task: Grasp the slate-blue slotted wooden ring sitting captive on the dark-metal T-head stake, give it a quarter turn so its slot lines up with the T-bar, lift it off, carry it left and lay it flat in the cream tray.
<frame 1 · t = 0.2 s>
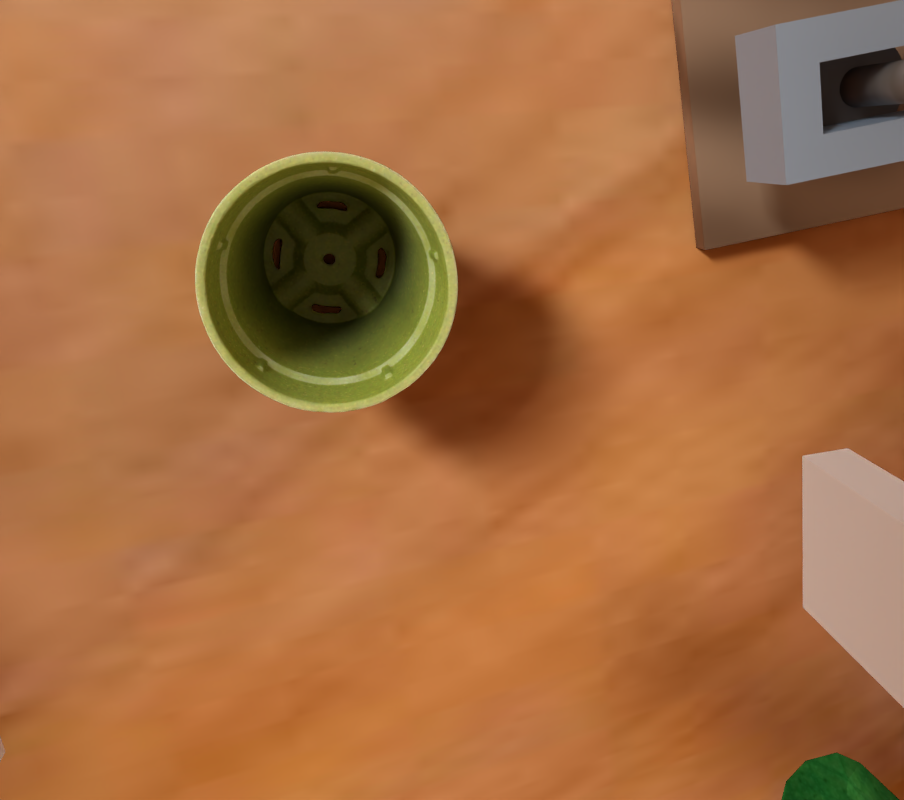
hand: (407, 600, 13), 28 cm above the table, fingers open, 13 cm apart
stake: (808, 92, 40), on the table
plant pot: (332, 257, 39), on the table
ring: (857, 86, 36), point 4 cm above the table, touching stake
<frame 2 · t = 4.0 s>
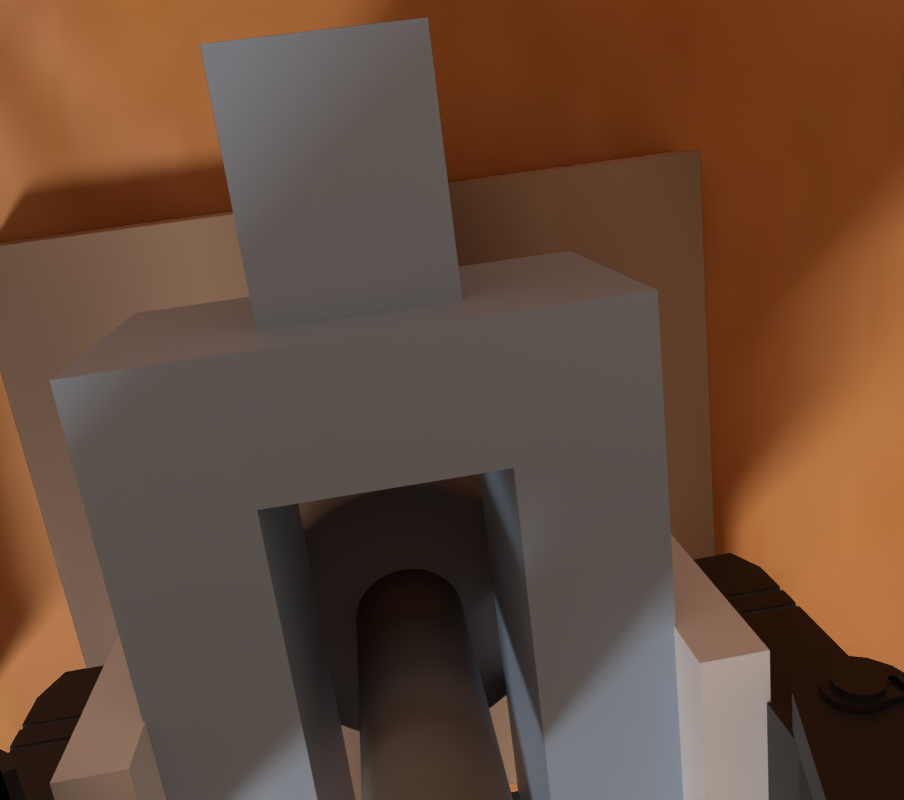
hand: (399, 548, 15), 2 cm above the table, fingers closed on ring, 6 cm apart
stake: (394, 510, 17), on the table
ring: (409, 617, 13), point 4 cm above the table, touching gripper, stake
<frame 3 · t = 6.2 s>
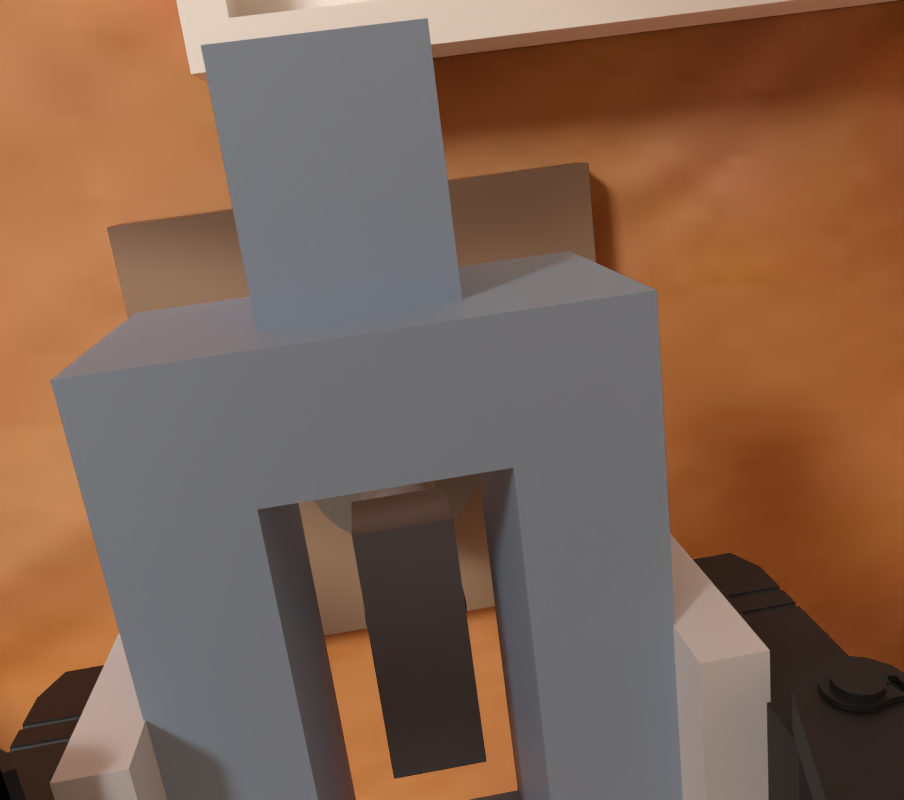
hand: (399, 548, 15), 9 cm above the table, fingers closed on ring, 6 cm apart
stake: (386, 412, 24), on the table
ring: (409, 616, 13), point 11 cm above the table, touching gripper
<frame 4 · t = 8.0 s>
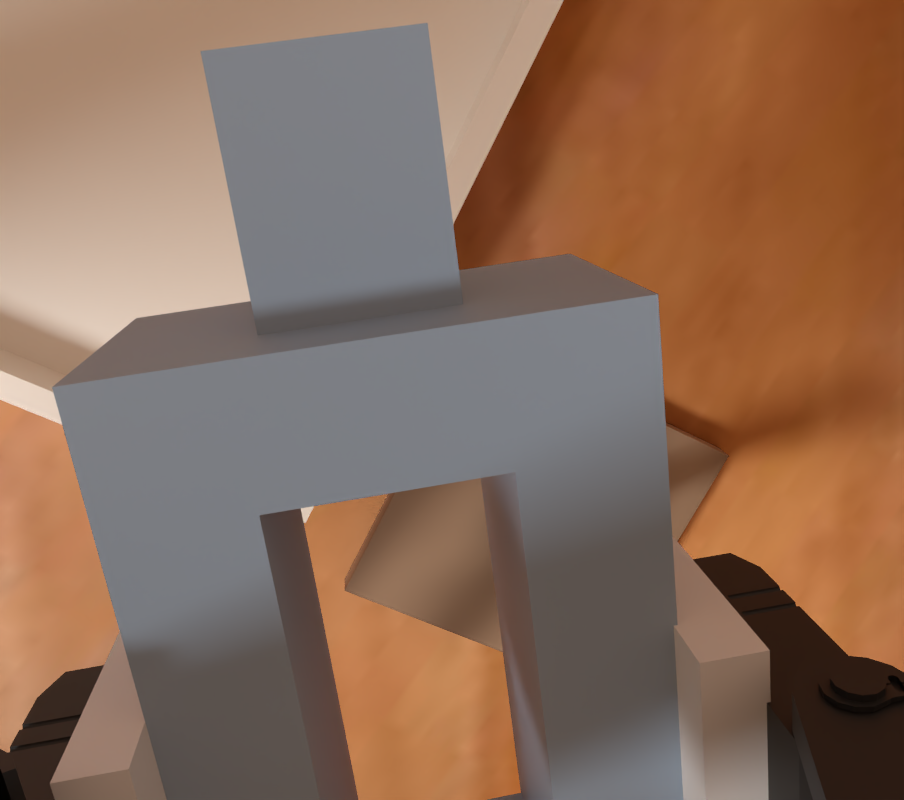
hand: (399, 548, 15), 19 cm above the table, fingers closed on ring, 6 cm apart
stake: (532, 513, 37), on the table
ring: (412, 620, 13), point 22 cm above the table, touching gripper
tray: (190, 100, 31), on the table
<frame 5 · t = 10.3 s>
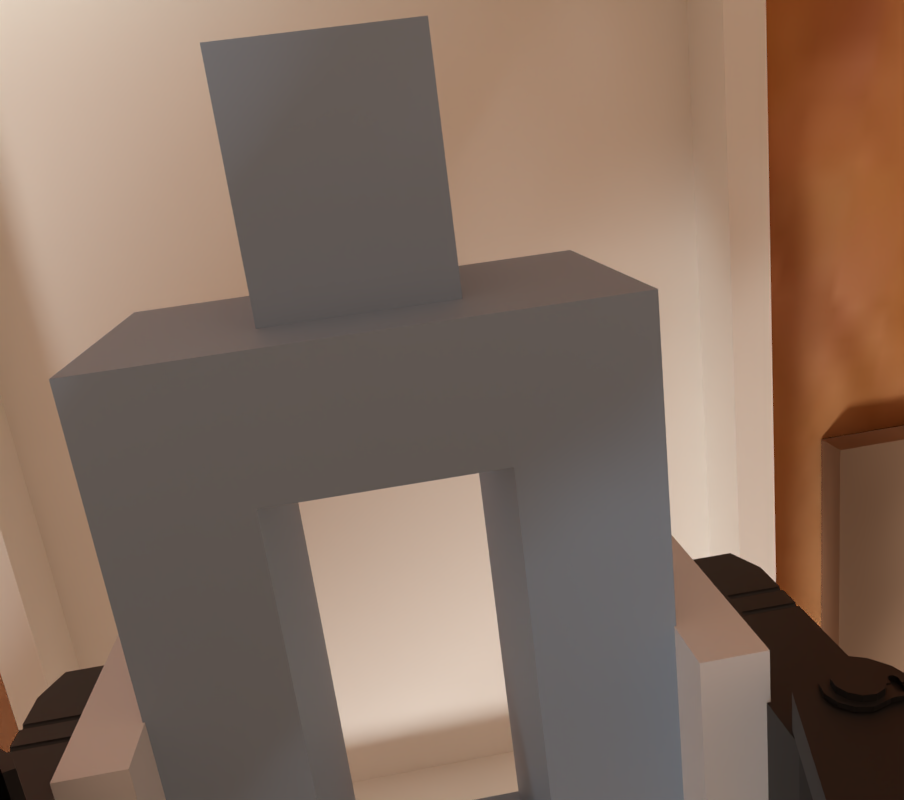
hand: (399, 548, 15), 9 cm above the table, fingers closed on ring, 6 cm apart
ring: (409, 617, 13), point 11 cm above the table, touching gripper
tray: (373, 412, 24), on the table
when the fingers open (2 cm above the table, at t = 12.2 s): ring drops 3 cm, resting on tray.
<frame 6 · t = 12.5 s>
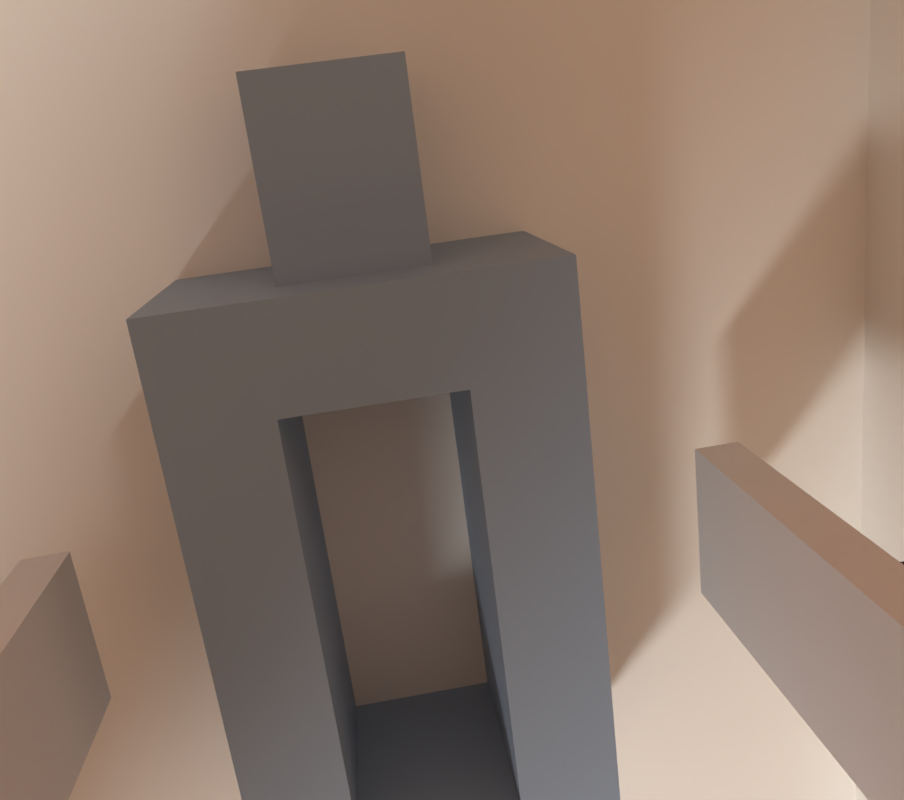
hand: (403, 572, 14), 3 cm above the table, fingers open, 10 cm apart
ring: (396, 532, 16), point 1 cm above the table, touching tray
tray: (394, 510, 17), on the table
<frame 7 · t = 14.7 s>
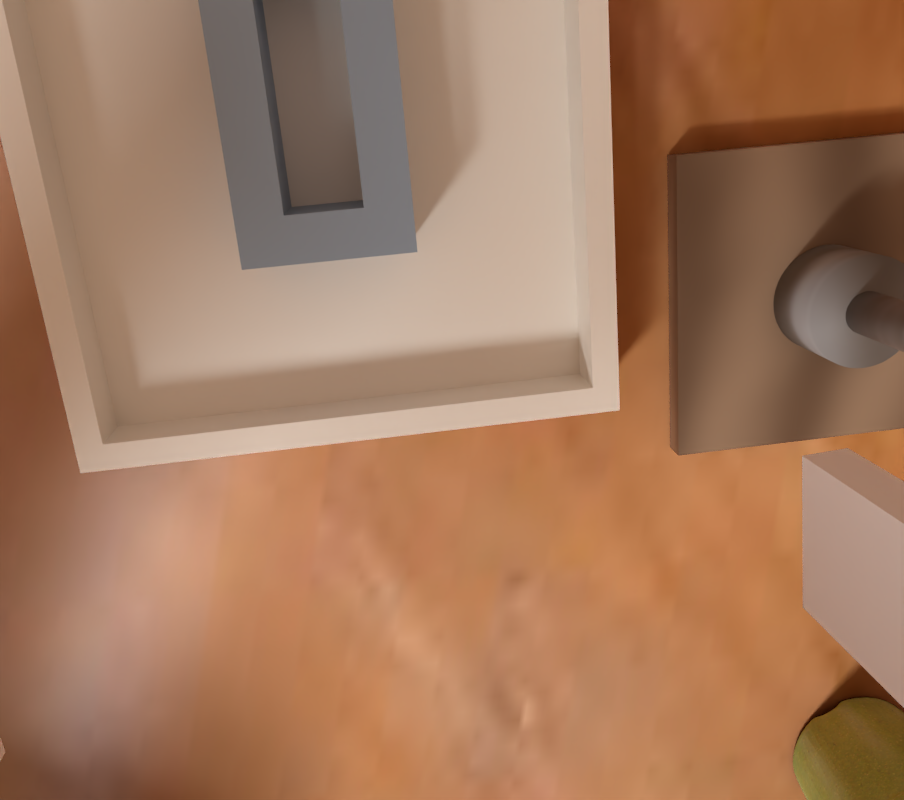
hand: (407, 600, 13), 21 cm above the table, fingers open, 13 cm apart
stake: (811, 293, 35), on the table
plant pot: (848, 743, 43), on the table
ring: (314, 101, 30), point 1 cm above the table, touching tray
tray: (316, 102, 31), on the table
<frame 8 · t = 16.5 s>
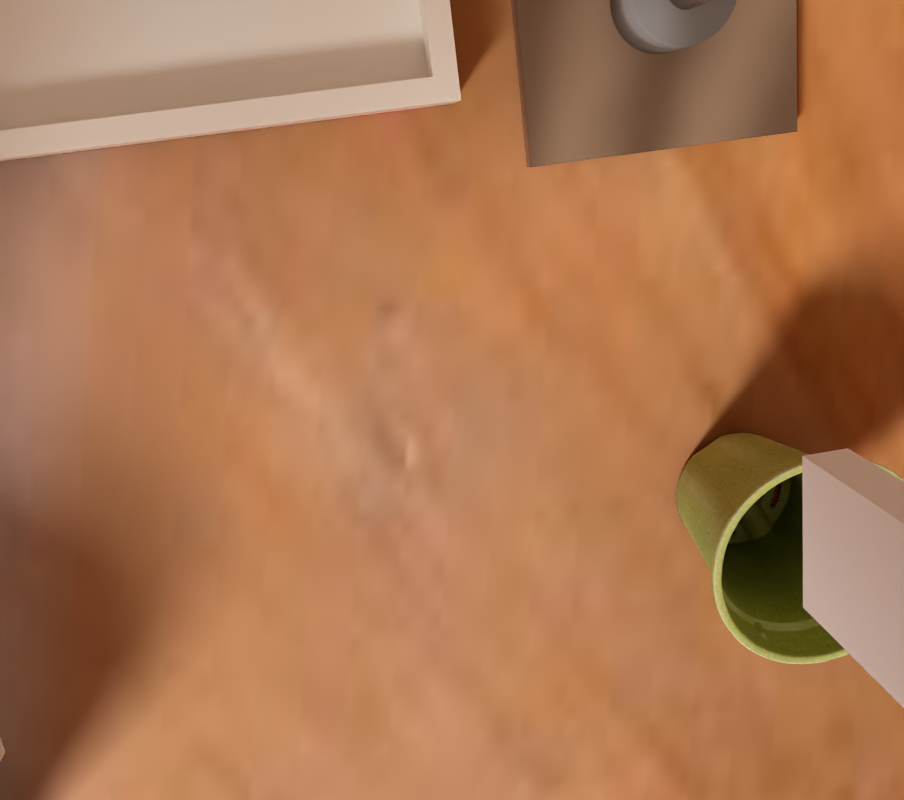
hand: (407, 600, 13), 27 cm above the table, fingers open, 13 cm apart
stake: (650, 3, 37), on the table
plant pot: (730, 485, 44), on the table
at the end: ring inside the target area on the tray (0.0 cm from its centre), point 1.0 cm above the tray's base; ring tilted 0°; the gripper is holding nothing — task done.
